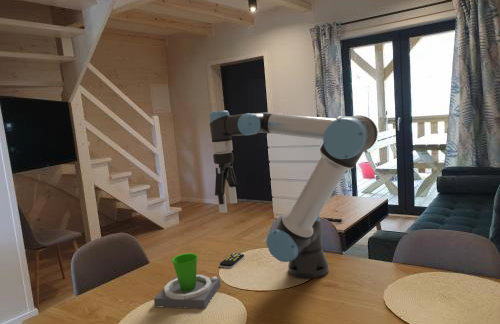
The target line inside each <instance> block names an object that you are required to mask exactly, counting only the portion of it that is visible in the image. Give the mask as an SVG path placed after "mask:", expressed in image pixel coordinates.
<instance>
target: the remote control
mask: <svg viewBox="0 0 500 324" xmlns="http://www.w3.org/2000/svg"><path fill="white" fill-rule="evenodd" d="M243 257H244V258H245V254H244V253H239V252H233V253H231V254H230V255H228V256H227V257H226V258H225V259H224V260H222V261H221V262H219V267H220V268H222V267H224V268H223V269H233V268H234V267H235V266H236V265H237V264H238V262H239V261H240V260H241V259H242V258H243ZM244 258H243V259H244ZM243 259H242V260H243ZM242 260H241V261H242ZM241 261H240V262H241ZM240 262H239V263H240ZM235 264H236V265H235ZM234 265H235V266H234ZM233 266H234V267H233ZM232 267H233V268H232Z"/></svg>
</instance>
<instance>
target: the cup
mask: <svg viewBox="0 0 500 324" xmlns="http://www.w3.org/2000/svg"><path fill="white" fill-rule="evenodd" d="M198 258H199V256H198V254H196V253H193V252H188V253H187V252H186V253H181V254H177V255H175V256H174V257H172V259H171V263H172V264H173V268H174V270H175V275H176V277H177V278H178V281H179V284H180V288H181V289H182V291H191V290H193V289H194V288H195V286H196V275H197V270H198V269H197V268H198V263H197V262H198Z"/></svg>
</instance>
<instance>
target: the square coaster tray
mask: <svg viewBox="0 0 500 324" xmlns="http://www.w3.org/2000/svg"><path fill="white" fill-rule="evenodd" d="M220 279H221V278H220V277H217V276H212V277H209V276H206V275H205V274H196V286H195V288H194V289H193V290H191V291H182V289H181V288H180V284H179V281H178V278H177V276H176V277H173V278H172V279H171V280H170V281H169V282H167V283H166V285H164V287H163V289H161V291H159V292H158V294H156V296H155V297H154V298H153V302H154V307H155V306H163V307H162V308H170V307H181V308H180V309H196V308H201V309H202V308H203V309H202V310H205V309H206V308H207V307H208V305H209V304H210V302H211V301H212V299H213V298H214V296H215V295H216V293H217V291H219V289H220V287H221V280H220ZM214 294H215V295H214ZM212 297H213V298H212ZM210 300H211V301H210ZM208 303H209V304H208ZM184 307H185V308H184ZM186 307H187V308H186Z"/></svg>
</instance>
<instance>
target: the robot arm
mask: <svg viewBox="0 0 500 324" xmlns="http://www.w3.org/2000/svg"><path fill="white" fill-rule="evenodd" d="M208 116H209V117H208V118H209V128H210V137H211V145H210V147H211V148H212V152H213V155H212V157H213V163H214V164H215V165H218V167H215V182H214V184H215V186H214V187H215V189H214V196H217V203H218V211H219V214H220V213H221V214H222V213H223V214H224V213H225V214H226V213H228V209H227V208H228V207H227V198H226V194H225V190H226V183H227V184H228V197H229V204H237V203H238V198H237V189H236V188H237V187H238V182H237V178H236V175H235V170H234V165H233V163H234V160H235V159H234V153H233V152H232V151H233V150H234V148H233V147H234V146H233V138H232V137H236V136H237V137H239V136H240V137H241V136H252V135H256V134H259V133H263V134H272V135H273V134H274V135H281V136H284V135H285V136H291V137H299V138H300V137H301V138H307V139H317V140H322V141H323V143H322V145H321V146H320V149H319V152H320V155H321V156H320V158H319V160H318V162H317V163H316V166H315V167H314V169H313V171H312V173H311V174H310V176H309V178H308V180H307V181H306V183H305V185H304V187H303V189H302V190H301V192H300V193H299V196H298V198H297V200H295V201H296V202H294V205H293V206H292V208H291V210H290V211H289V213H288V212H287V213H284V214H283V216H282V217H281V219H280V220H279V222H278V224H277V226H276V227H275V229H272V230H271V231H270V232H269V233H268V234H267V237H266V247H267V248H268V252H269V253H270V255H271V256H272V257H273V258H275V260H277V261H279V262H283V263H288V273H289V275H291V276H292V275H293V277H294V276H295V278H297V279H304V280H305V279H306V280H307V279H309V280H311V279H318V278H322V277H324V276H325V275H327V274H328V272H329V271H330V270H329V268H330V267H329V262H328V260H327V257H326V255H325V253H324V250H323V238H322V224H321V223H322V221H321V217H320V214H321V213H322V211H323V209H324V207H326V206H325V205H326V204H327V202H328V201H329V199H330V197H331V196H332V194H333V192H334V191H335V189H336V188H337V186H338V184H339V183H340V181H341V180H342V178H343V176H344V174H345V172H346V171H347V170H350V169H354V168H355V166H356V165H357V163H358V162H359V160H360V158H361V157H362V155H363V154H364V152H366V151H367V150H369V149H371V148H372V147H373V146H374V145H375V144H376V142H377V138H378V135H379V133H378V128H377V125H376V123H375V122H374V121H373V120H372V119H371V118H369V117H368V116H365V115H362V114H361V115H359V114H358V115H353V116H346V115H344V116H342V115H340V116H338V117H337V118H332V117H320V116H318V117H317V116H305V115H293V114H281V113H271V112H265V111H262V112H256V113H255V112H254V113H252V112H251V113H249V112H247V113H241V114H233V115H230V112H229V111H228V110H219V111H217V110H216V111H211V112H209V115H208Z"/></svg>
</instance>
